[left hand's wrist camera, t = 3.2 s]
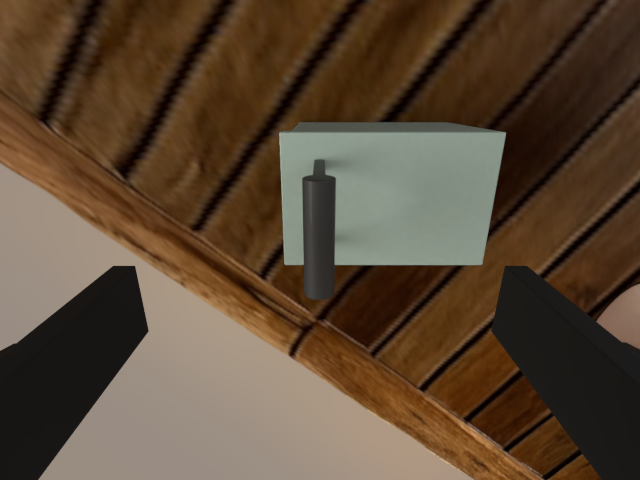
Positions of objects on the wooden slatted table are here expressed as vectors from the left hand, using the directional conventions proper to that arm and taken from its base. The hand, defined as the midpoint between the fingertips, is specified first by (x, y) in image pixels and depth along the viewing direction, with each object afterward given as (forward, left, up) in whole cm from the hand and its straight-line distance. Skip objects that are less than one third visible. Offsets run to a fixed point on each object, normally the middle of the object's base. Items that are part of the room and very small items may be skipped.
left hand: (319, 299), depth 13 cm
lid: (-3, +4, -14) cm, 15 cm away
